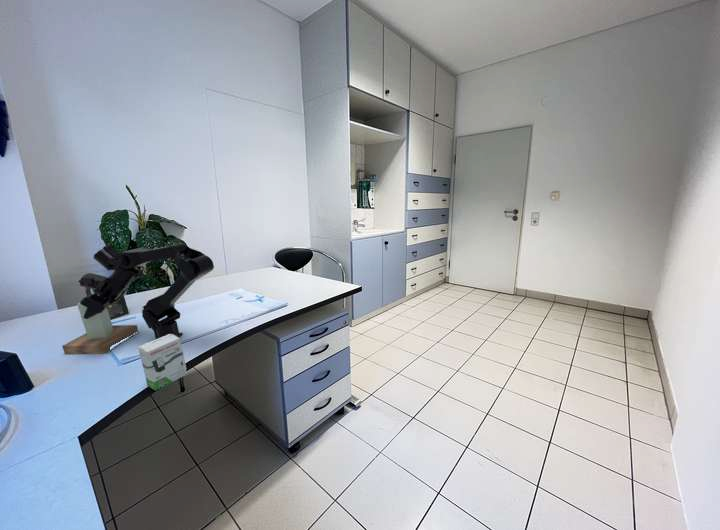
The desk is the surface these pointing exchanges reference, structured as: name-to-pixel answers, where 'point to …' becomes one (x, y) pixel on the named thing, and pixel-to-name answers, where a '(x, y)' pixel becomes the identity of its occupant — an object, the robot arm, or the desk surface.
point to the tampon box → (112, 305)
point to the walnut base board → (99, 341)
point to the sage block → (96, 323)
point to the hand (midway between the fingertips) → (90, 314)
